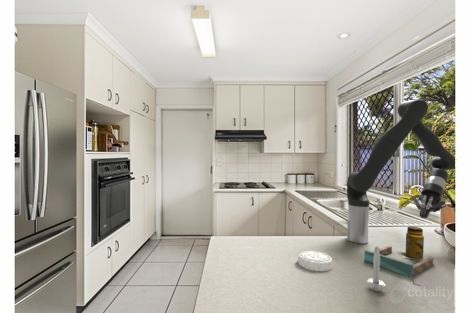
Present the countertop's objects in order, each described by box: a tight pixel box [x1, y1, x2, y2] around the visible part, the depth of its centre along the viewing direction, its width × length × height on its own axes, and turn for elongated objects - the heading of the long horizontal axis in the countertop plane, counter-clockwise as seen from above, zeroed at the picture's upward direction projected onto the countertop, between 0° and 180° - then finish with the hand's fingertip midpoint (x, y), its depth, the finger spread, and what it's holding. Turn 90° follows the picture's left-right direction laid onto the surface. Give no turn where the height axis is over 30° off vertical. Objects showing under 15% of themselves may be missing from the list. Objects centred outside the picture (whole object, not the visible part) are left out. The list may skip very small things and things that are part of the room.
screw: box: [366, 246, 386, 292], centre depth 79 cm, size 13×5×5 cm
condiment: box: [397, 226, 425, 261], centre depth 108 cm, size 7×8×12 cm
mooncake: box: [297, 250, 333, 272], centre depth 97 cm, size 12×12×4 cm
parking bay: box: [363, 245, 434, 278], centre depth 101 cm, size 20×16×4 cm
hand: (423, 217), depth 115 cm, fingers closed
